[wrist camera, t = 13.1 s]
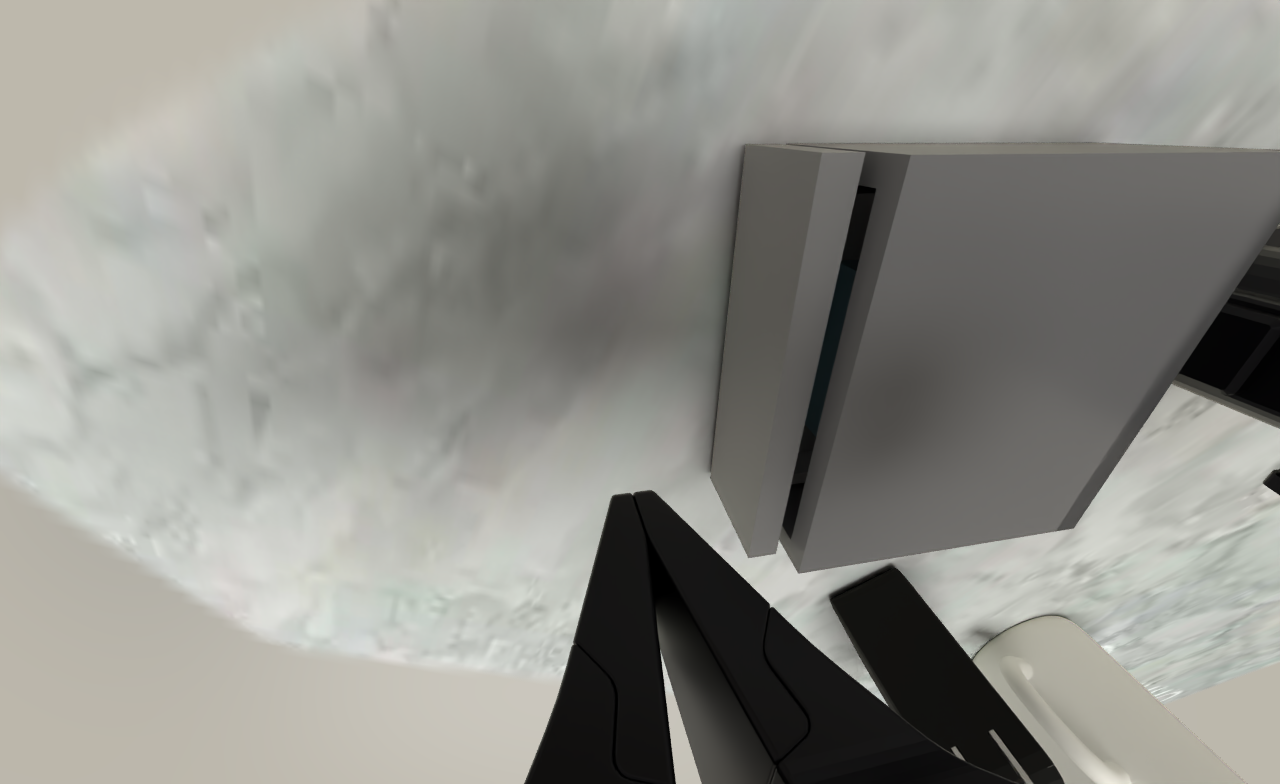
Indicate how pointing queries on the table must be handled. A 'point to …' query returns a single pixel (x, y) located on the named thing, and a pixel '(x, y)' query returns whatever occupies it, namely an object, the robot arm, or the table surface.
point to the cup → (1093, 710)
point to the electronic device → (937, 681)
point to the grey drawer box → (1015, 333)
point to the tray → (780, 324)
